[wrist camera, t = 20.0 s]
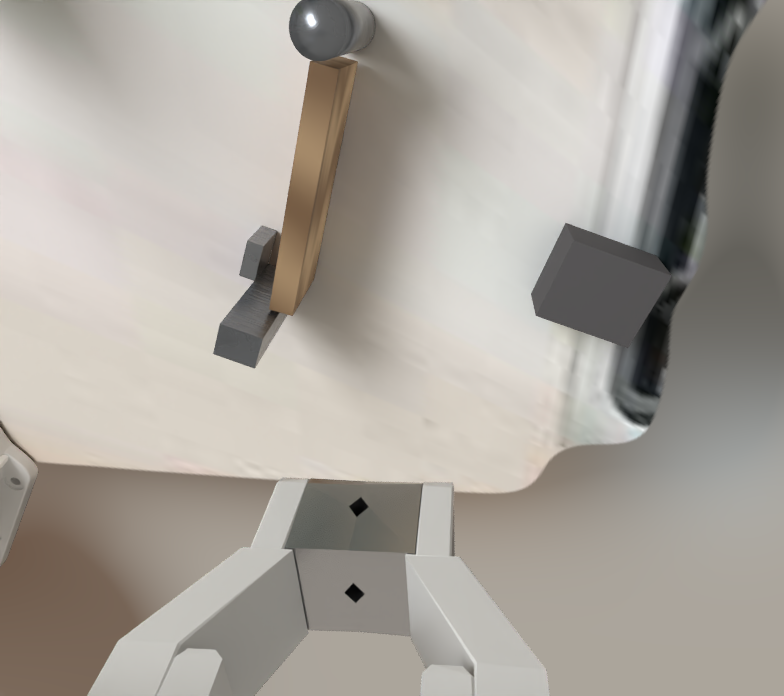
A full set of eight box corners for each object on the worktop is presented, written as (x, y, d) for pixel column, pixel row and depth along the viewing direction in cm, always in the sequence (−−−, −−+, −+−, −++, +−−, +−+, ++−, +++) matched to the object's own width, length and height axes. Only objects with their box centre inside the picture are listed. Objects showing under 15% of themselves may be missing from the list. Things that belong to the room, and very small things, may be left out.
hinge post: (367, 57, 34) (336, 69, 26) (326, 41, 34) (283, 48, 26) (380, 10, 33) (353, 8, 25) (338, -7, 32) (297, -14, 25)
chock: (615, 322, 40) (628, 348, 37) (530, 292, 40) (536, 315, 36) (655, 254, 37) (672, 275, 34) (565, 221, 37) (573, 240, 34)
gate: (333, 54, 33) (310, 61, 28) (357, 61, 33) (338, 69, 28) (293, 273, 40) (269, 309, 35) (314, 279, 40) (292, 315, 35)
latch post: (295, 301, 41) (254, 368, 34) (247, 284, 41) (195, 347, 33) (312, 244, 39) (273, 301, 31) (262, 225, 39) (210, 278, 31)
